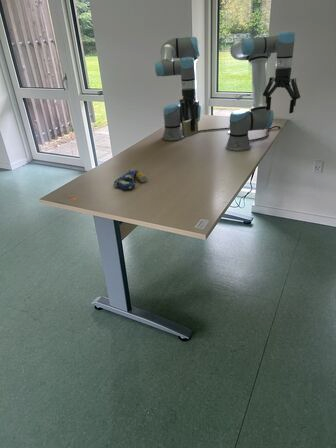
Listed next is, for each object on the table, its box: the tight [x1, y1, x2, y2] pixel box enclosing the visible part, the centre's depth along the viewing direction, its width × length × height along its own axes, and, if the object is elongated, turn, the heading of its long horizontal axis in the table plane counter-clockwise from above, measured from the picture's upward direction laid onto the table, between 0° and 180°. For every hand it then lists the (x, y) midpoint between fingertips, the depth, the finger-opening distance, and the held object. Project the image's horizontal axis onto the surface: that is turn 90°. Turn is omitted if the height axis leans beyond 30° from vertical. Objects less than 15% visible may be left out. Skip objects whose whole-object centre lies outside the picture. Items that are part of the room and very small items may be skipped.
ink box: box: [181, 119, 199, 138], centre depth 197 cm, size 10×4×8 cm, turn 131°
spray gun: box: [112, 168, 148, 191], centre depth 183 cm, size 21×4×15 cm
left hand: (190, 130), depth 198 cm, fingers closed on ink box, 4 cm apart
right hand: (279, 111), depth 176 cm, fingers open, 13 cm apart
